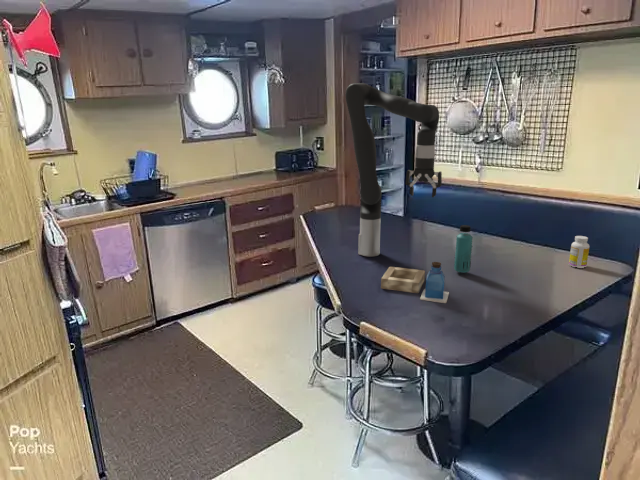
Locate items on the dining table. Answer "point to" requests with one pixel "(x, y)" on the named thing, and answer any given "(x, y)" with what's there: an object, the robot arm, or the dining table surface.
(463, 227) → the beverage bottle
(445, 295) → the coaster
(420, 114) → the robot arm
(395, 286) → the pocket block
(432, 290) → the perfume bottle
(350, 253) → the dining table surface
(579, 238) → the supplement bottle
